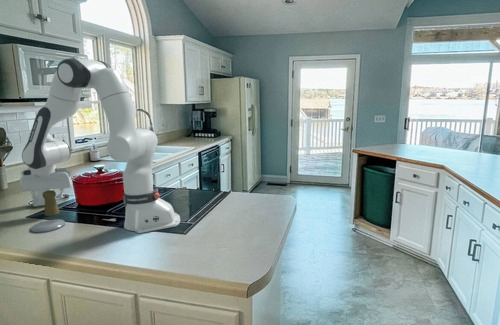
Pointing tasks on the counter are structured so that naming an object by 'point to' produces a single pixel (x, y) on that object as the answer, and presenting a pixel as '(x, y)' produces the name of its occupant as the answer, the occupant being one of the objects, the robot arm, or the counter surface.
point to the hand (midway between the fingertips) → (49, 198)
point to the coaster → (48, 226)
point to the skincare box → (41, 200)
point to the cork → (50, 203)
